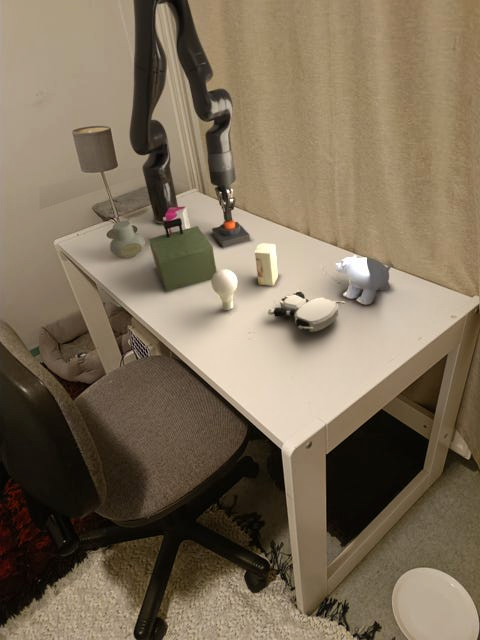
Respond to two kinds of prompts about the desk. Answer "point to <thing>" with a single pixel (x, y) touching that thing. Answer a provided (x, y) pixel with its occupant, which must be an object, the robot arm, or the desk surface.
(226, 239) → the control block
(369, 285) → the white animal-shaped figure
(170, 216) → the supplement box
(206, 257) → the green box
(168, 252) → the green handled lid
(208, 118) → the robot arm
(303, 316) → the robot toy
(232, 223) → the release button
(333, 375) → the desk surface
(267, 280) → the cream cardboard box
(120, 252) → the air freshener
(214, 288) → the lightbulb
